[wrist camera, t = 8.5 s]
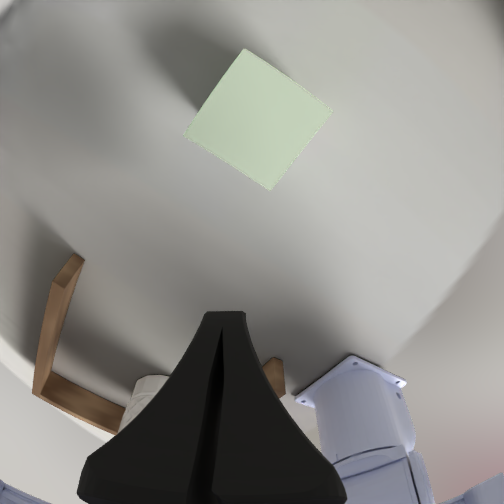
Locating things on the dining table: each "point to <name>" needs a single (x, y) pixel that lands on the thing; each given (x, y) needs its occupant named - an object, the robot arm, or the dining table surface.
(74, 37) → the dining table surface
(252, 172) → the block
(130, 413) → the white cup
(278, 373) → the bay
